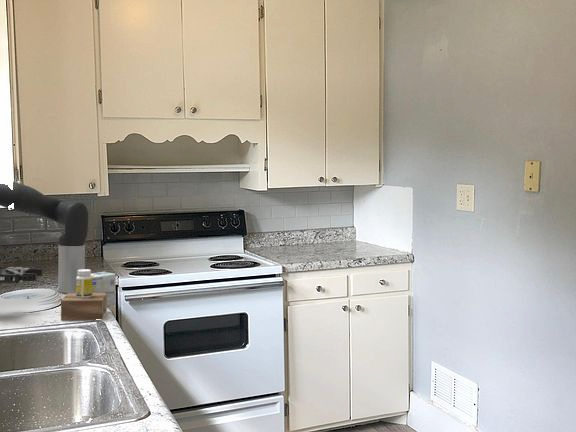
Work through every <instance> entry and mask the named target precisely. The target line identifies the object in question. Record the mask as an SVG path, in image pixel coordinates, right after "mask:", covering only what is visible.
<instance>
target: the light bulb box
mask: <svg viewBox="0 0 576 432" xmlns="http://www.w3.org/2000/svg"><path fill="white" fill-rule="evenodd" d="M90 276H92V293H107V297H106V307H110V306H111V307H112V306H115V305H116V274H115V273H112V272H107V271H101V272H99V271H98V272H93V273H92V272H91V275H90Z"/></svg>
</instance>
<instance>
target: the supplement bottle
mask: <svg viewBox="0 0 576 432" xmlns="http://www.w3.org/2000/svg"><path fill="white" fill-rule="evenodd" d="M91 274H92V270H91V269H88V268H85V269H81V270H78V276H77V277H76V297H78V298H89V297H92V276H90V275H91Z"/></svg>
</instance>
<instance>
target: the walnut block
mask: <svg viewBox="0 0 576 432" xmlns="http://www.w3.org/2000/svg"><path fill="white" fill-rule="evenodd" d="M106 297H107V293H92V297H89V298H78V297H76V293H65V296H64V297H63V298H62V299H61V300H60V321H97V320H96V319H102V318H103V319H104V317H105V315H106V313H107V306H106ZM105 312H106V313H105ZM104 314H105V315H104ZM103 316H104V317H103ZM103 319H102V320H103Z"/></svg>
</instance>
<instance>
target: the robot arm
mask: <svg viewBox="0 0 576 432" xmlns="http://www.w3.org/2000/svg"><path fill="white" fill-rule="evenodd" d="M12 203H14V209H12V208H10V209H9V208H8V206H9V205H11V204H12ZM0 207H4V208H7V209H9V210H13V211H16V212H20V213H23V214H24V213H25V214H29V215H35V216H41V217H44V218H46V219H48V220H51V221H54V222H55V223H58V224H60V225H63V226H64V233H63V234H62V235H60V236H59V237H58V269H57V270H58V273H57V274H58V275H57V276H58V277H57V280H58V281H57V282H58V283H57V287H58V289H57V291H58V292H59V293H61V294H67V293H76V277H77V276H78V270H81V269H86V240H87V238H88V232H89V231H88V229H89V211H88V208H87V206H86V205H85V204H84V203H83V202H81V201H74V200H66V199H65V200H63V199H58V198H55V197H50V196H48V195H45V194H43V193H42V192H41V191H39V190H37V189H36V188H33V187H31V186H28V185H25V184H23V183H21V182H20V183H19V182H16V181H13V190H11V189H10V188H9V187H8V185H5V184H0ZM41 276H43V269H42V268H30V267H29V266H9V267H7V268H3V264H2V263H1V262H0V286H1V285H2V283H3V284H4V283H5V284H6V283H7V284H12V283H13V284H19V283H22V282H36V281H37V277H41Z"/></svg>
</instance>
